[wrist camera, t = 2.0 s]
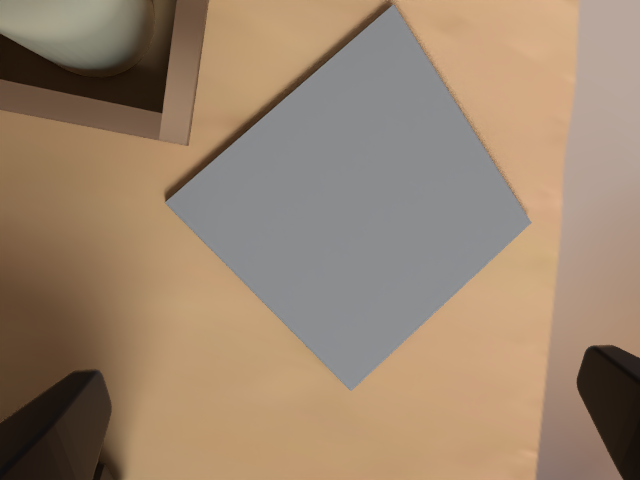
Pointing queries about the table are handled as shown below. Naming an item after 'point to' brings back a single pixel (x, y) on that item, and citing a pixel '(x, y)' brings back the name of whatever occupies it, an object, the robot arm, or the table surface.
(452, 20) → the table surface
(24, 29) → the green bottle
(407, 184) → the mat
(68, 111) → the brown square open box
